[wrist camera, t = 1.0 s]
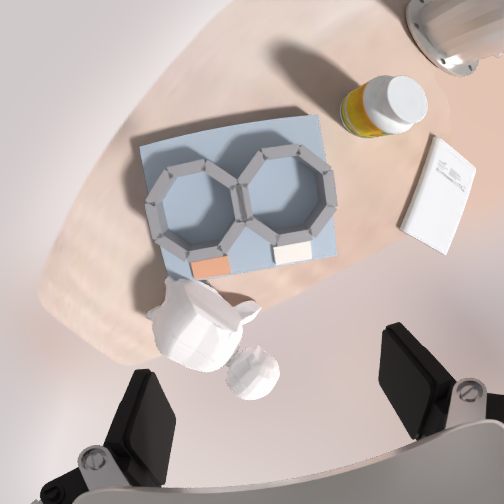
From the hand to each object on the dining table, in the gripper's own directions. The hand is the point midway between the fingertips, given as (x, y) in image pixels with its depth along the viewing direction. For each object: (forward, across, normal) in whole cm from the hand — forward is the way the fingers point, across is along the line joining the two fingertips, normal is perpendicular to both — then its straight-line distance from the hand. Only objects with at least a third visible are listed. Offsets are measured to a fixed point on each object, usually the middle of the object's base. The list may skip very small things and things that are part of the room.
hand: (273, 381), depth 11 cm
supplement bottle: (+20, -14, -12) cm, 28 cm away
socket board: (+20, 0, -5) cm, 21 cm away
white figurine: (+21, +5, +8) cm, 23 cm away
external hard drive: (+21, -24, -2) cm, 32 cm away
